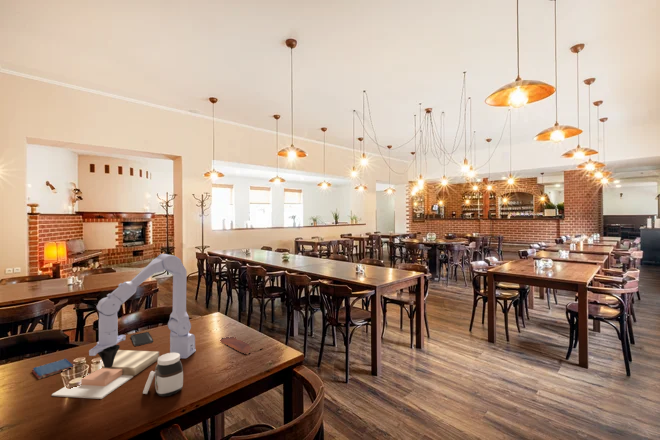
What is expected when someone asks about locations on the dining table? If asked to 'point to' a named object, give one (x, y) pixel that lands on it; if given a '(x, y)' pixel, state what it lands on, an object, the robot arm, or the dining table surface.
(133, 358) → the block
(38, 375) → the woven mat
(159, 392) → the spread jar
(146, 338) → the phone
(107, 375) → the tile
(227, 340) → the wooden tablet
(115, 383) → the mat
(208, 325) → the dining table surface
